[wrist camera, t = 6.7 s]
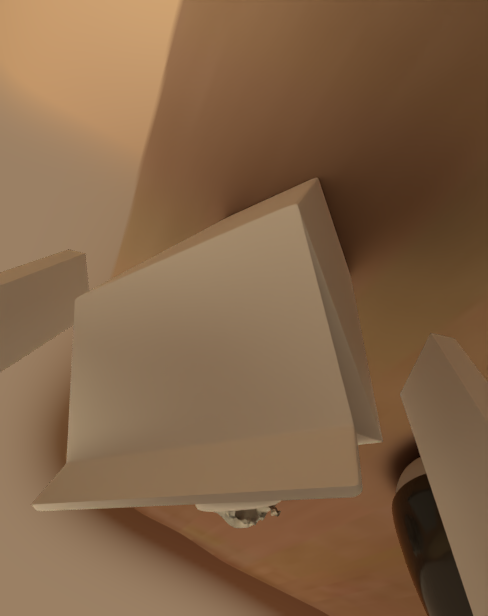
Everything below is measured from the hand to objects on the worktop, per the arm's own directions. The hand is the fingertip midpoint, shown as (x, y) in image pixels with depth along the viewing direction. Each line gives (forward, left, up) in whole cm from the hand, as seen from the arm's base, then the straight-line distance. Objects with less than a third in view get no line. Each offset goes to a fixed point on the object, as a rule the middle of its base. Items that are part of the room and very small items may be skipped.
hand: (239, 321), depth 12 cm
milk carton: (0, 0, -12) cm, 12 cm away
